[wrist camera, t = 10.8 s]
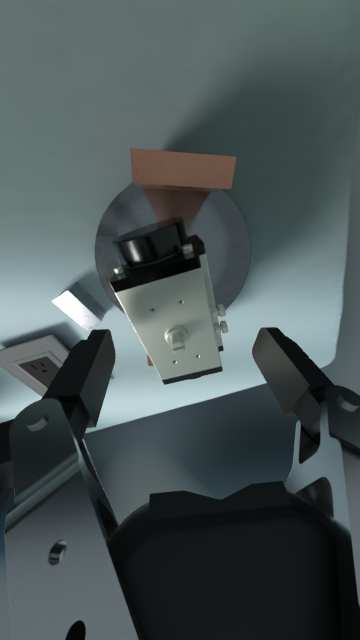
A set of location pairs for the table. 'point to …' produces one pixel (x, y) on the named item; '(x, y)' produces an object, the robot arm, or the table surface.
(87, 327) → the grey rectangular block
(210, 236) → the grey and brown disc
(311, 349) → the table surface
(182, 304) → the pneumatic valve
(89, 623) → the robot arm
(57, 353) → the electrical outlet
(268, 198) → the table surface
